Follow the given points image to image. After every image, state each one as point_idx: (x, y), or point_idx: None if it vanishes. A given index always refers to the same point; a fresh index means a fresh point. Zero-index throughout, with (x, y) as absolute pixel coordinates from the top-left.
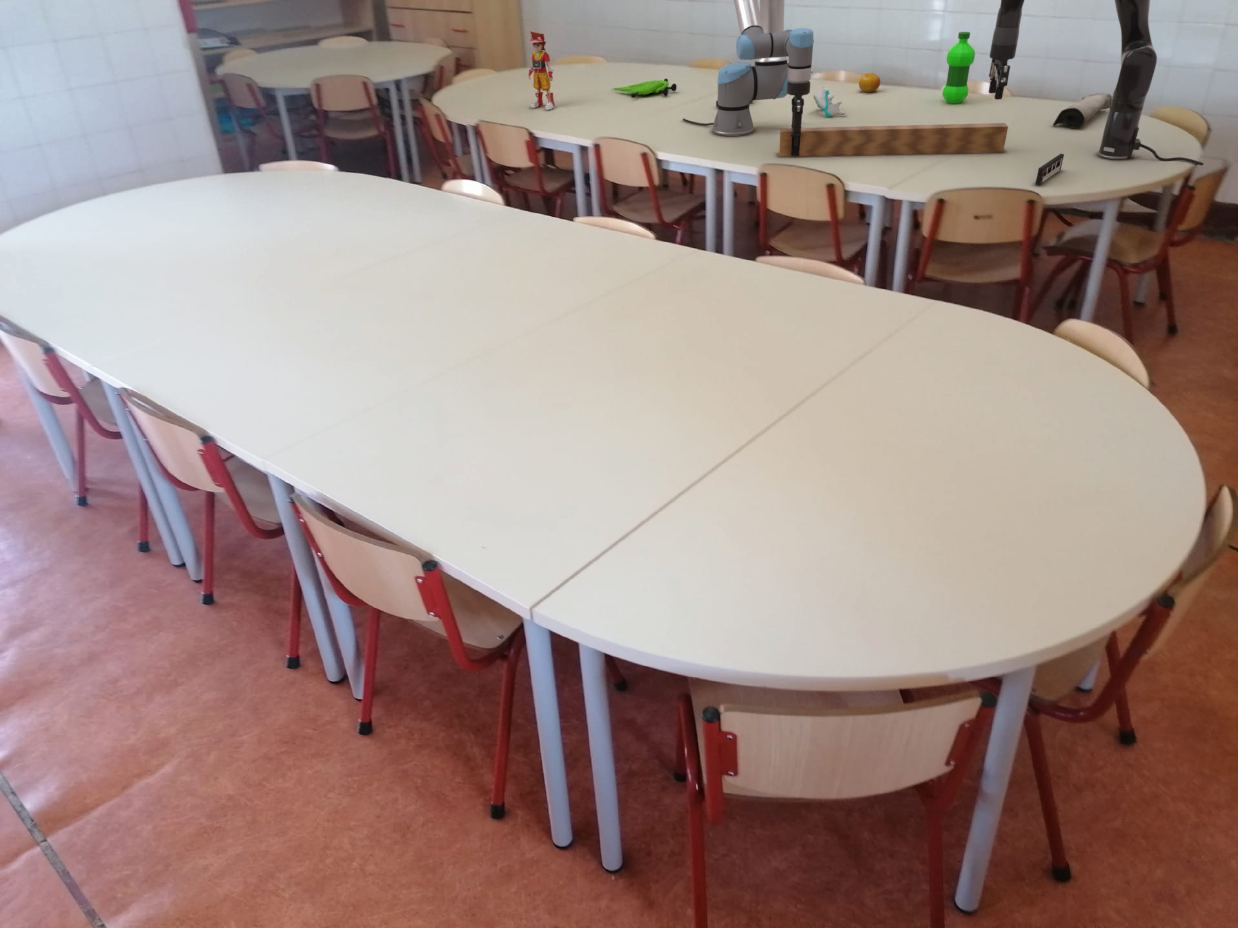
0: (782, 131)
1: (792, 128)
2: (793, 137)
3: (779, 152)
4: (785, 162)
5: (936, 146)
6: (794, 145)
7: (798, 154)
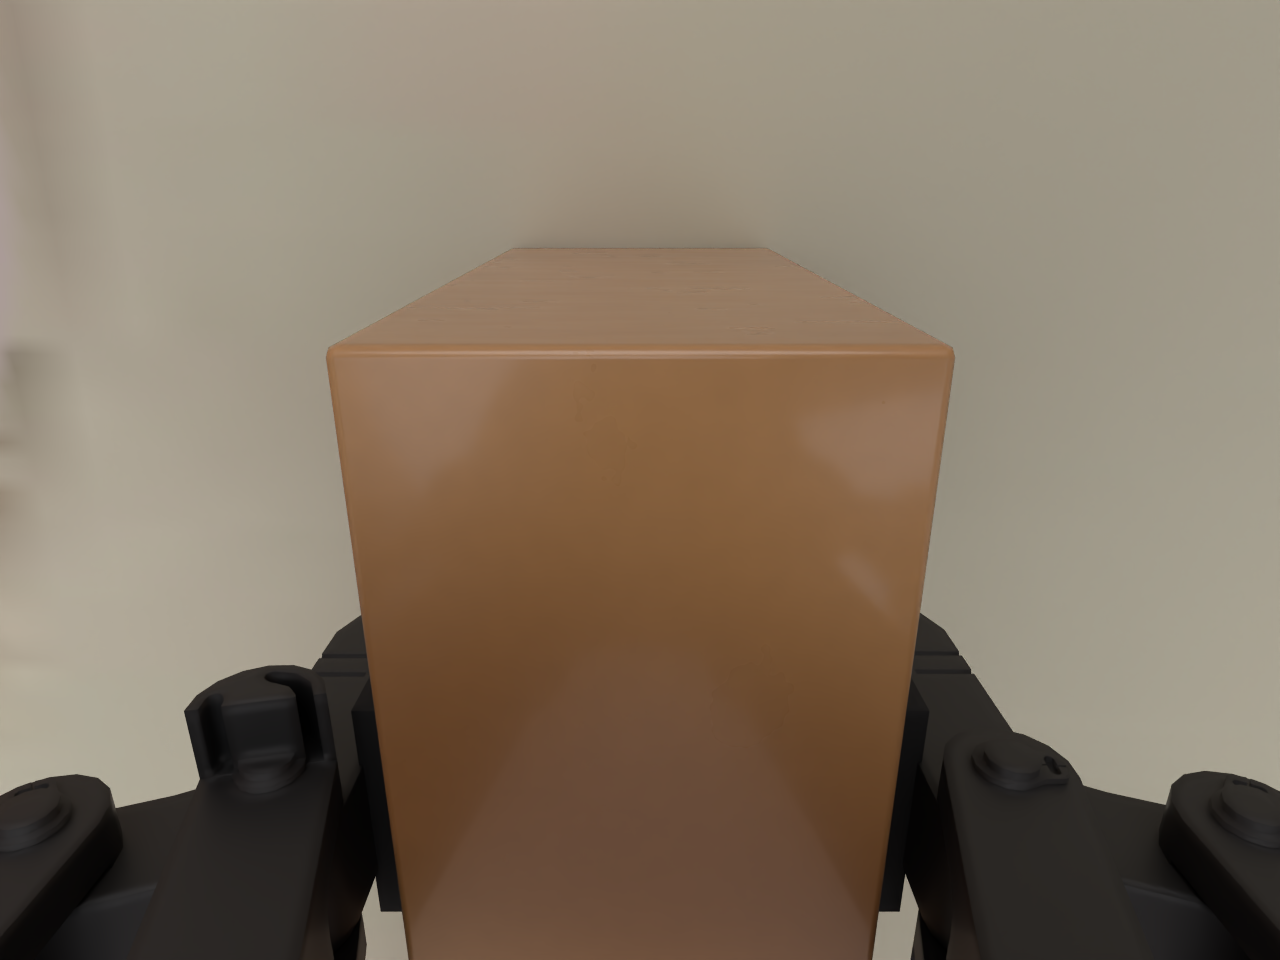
0: (360, 445)
1: (817, 834)
2: (368, 723)
3: (497, 258)
4: (163, 361)
5: None
6: (346, 640)
7: None
